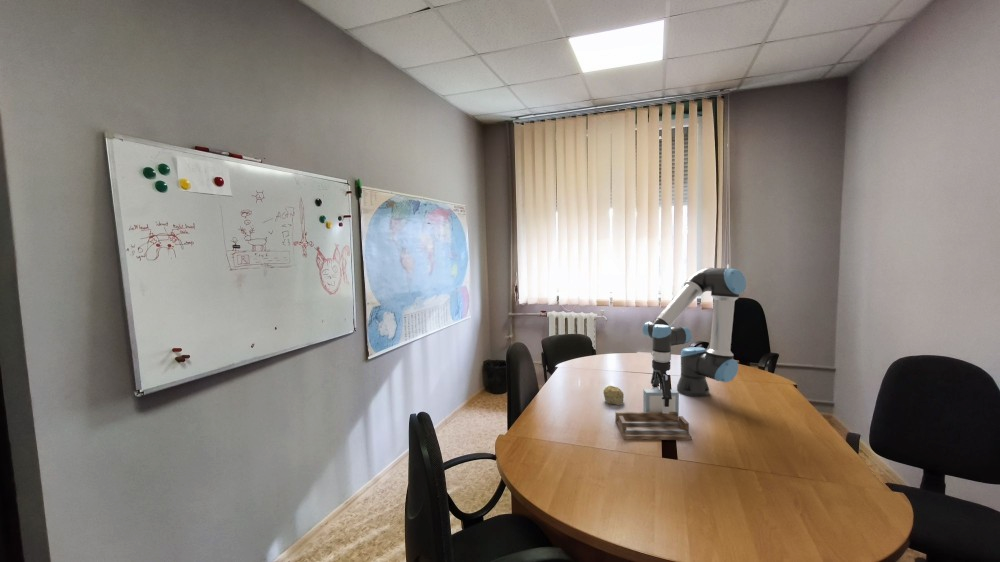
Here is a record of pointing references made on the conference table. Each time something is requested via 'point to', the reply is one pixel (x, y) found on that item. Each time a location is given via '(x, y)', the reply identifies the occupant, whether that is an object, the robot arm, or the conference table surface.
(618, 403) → the decorative item
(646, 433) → the base
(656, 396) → the door panel
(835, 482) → the conference table surface
